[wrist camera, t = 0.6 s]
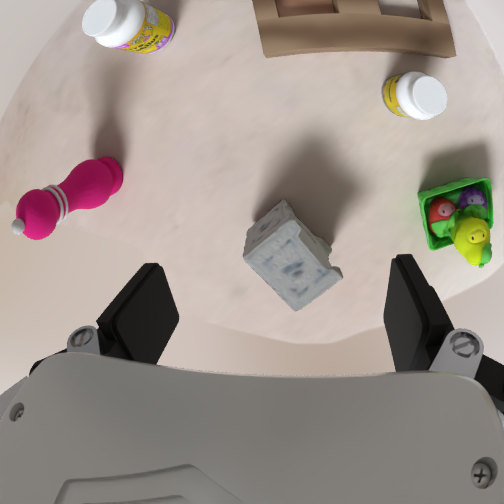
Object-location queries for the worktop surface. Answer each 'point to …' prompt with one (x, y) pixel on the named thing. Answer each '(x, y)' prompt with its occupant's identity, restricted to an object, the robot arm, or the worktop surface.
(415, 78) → the supplement bottle
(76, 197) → the pepper mill
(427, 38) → the socket board
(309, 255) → the grey block
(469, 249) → the fruit basket
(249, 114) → the worktop surface
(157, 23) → the supplement bottle
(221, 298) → the worktop surface
